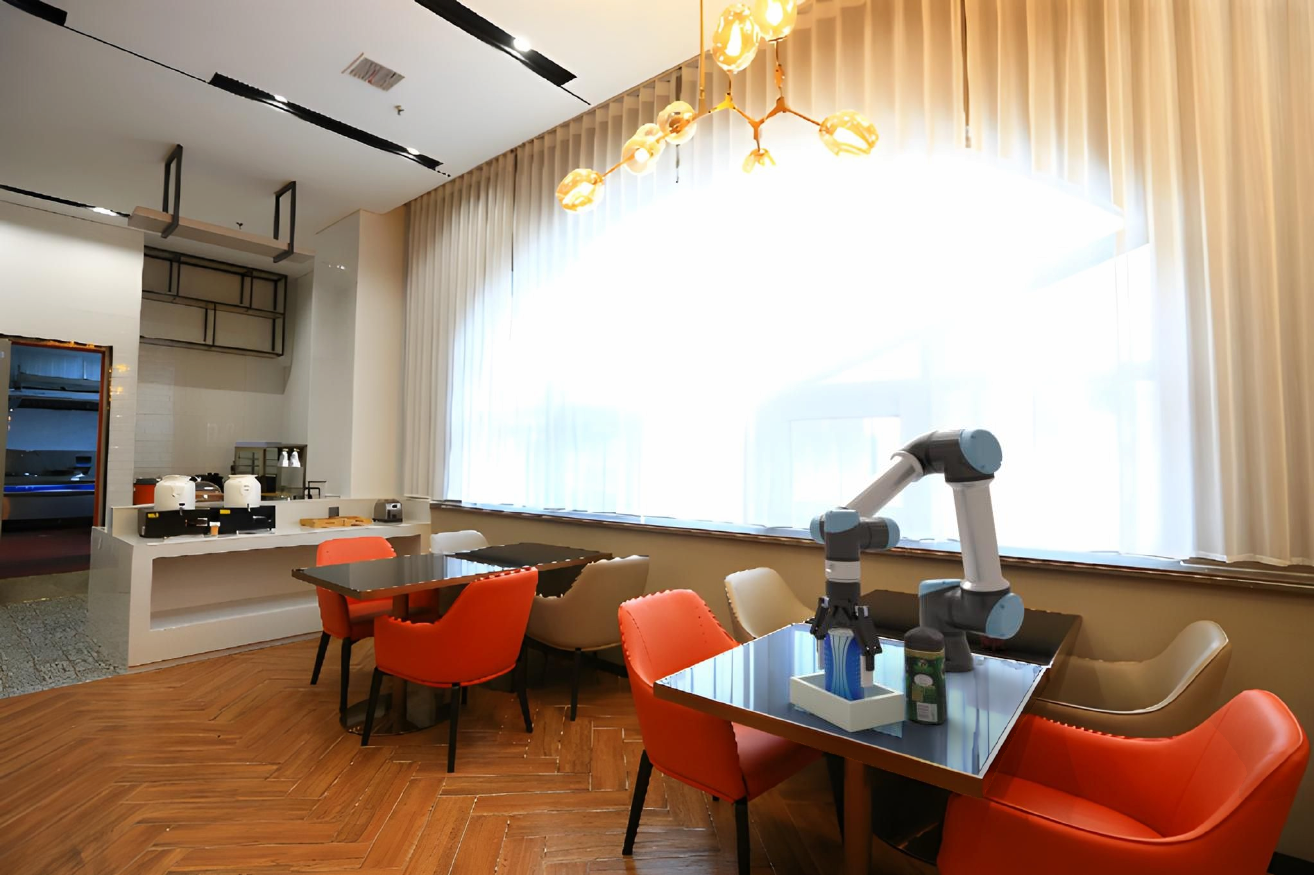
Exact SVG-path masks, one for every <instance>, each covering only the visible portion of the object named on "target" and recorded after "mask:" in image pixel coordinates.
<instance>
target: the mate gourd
mask: <svg viewBox="0 0 1314 875" xmlns="http://www.w3.org/2000/svg"><path fill="white" fill-rule="evenodd" d="M978 635H979V640H980V643H981V646H980V647H981V648H982V647H983V648H982V649H991V650H992V651H994V652H996V651H997V650H1005V647H1004V646H1005V641H1006V639H1001V638H995V637H994V638H991V637H988V636H985V635H981V634H978Z"/></svg>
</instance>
